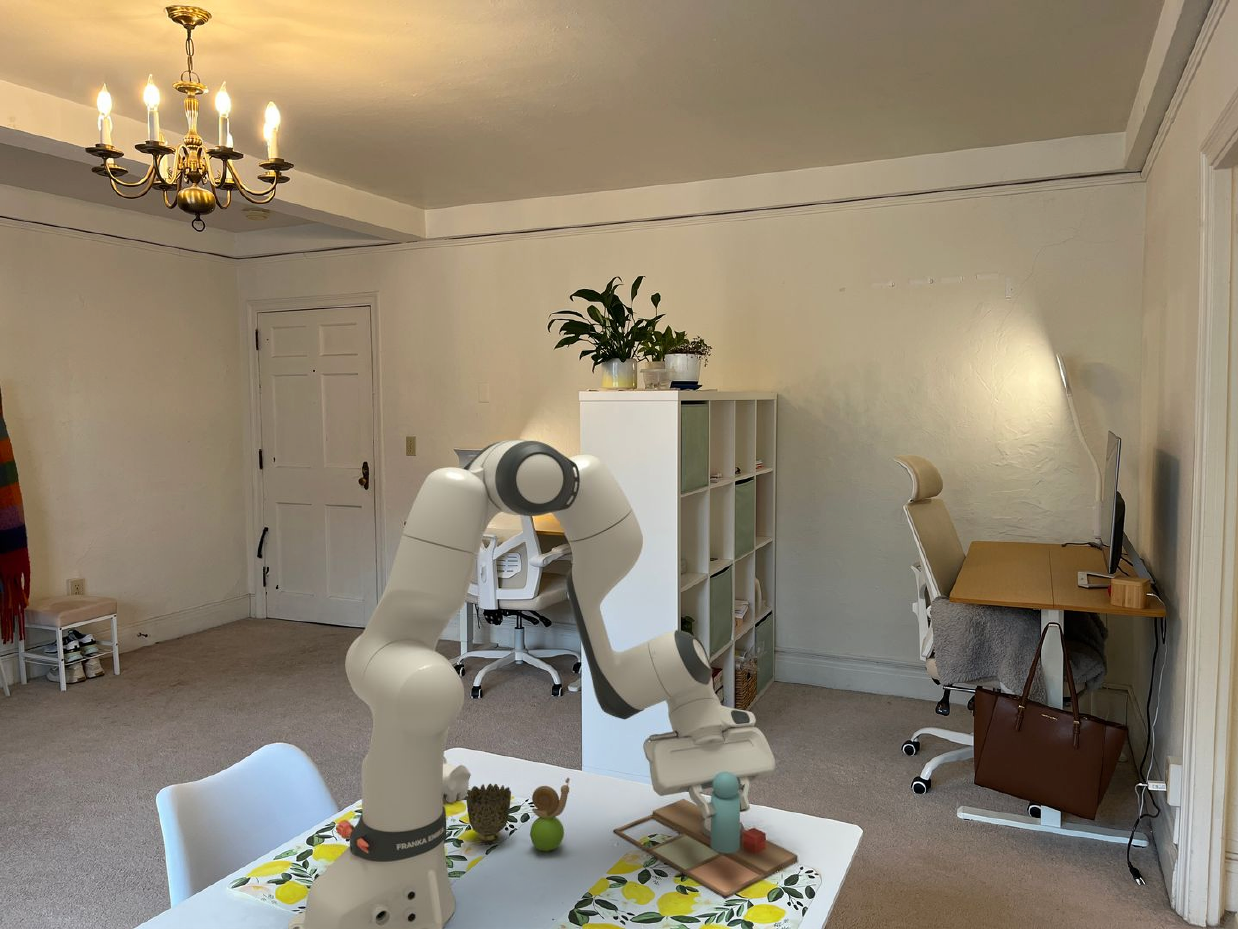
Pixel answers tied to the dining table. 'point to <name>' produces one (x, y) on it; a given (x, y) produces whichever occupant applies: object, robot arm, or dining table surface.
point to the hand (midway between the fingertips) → (727, 813)
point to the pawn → (725, 813)
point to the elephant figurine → (455, 781)
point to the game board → (712, 851)
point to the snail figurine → (548, 817)
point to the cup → (488, 811)
